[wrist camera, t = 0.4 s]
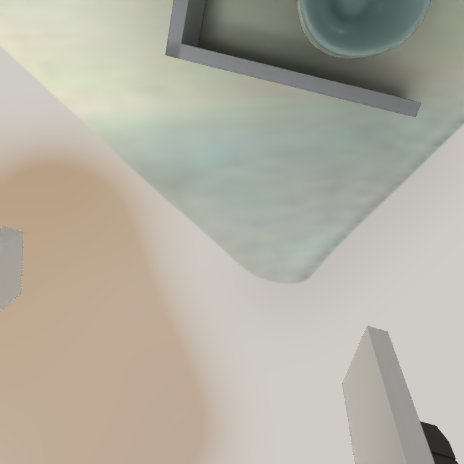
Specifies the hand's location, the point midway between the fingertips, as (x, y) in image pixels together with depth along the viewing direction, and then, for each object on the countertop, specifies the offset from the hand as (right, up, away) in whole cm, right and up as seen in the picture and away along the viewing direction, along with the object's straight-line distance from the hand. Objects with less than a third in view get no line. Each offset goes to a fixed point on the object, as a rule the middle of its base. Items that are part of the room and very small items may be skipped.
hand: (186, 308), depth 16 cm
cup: (+11, +21, +18) cm, 29 cm away
